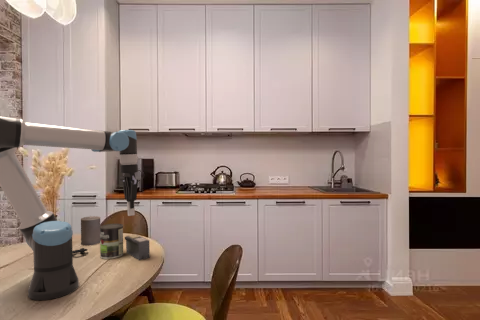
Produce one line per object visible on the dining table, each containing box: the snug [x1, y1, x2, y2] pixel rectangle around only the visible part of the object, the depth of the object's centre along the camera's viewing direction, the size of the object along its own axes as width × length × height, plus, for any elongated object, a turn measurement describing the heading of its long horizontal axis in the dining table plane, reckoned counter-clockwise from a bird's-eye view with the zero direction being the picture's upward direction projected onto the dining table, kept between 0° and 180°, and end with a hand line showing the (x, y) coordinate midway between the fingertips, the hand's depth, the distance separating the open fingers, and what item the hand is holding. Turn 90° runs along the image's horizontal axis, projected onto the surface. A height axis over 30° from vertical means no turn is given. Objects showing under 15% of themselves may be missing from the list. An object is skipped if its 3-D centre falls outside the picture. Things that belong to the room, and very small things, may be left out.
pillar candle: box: [80, 215, 101, 246], centre depth 164 cm, size 10×10×15 cm
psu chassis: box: [124, 233, 151, 261], centre depth 142 cm, size 6×15×8 cm, turn 42°
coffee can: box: [99, 223, 124, 260], centre depth 143 cm, size 10×10×14 cm
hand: (131, 215), depth 138 cm, fingers closed
